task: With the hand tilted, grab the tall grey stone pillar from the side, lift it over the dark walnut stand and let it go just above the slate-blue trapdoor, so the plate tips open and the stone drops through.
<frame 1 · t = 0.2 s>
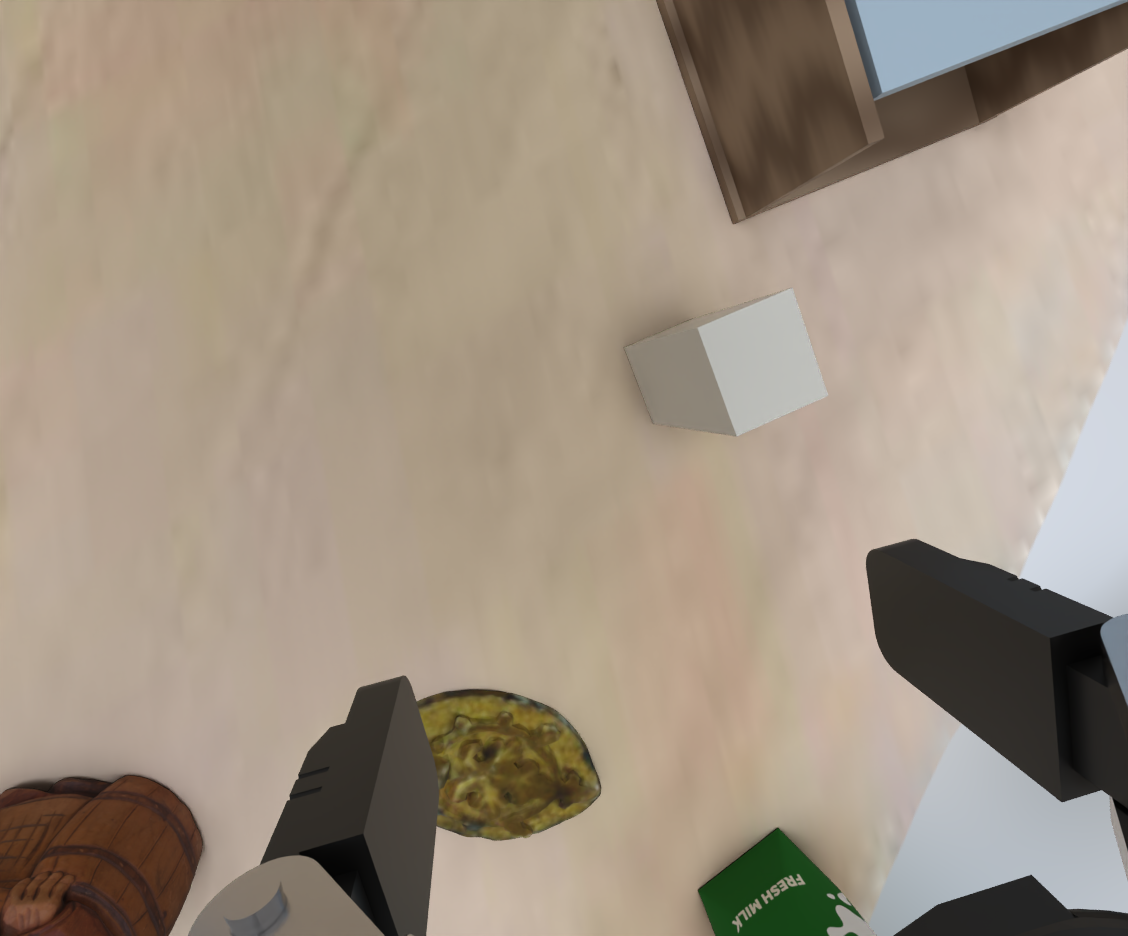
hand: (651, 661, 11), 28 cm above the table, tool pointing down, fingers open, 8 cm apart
wooden figurine: (102, 823, 37), on the table
trapdoor stand: (817, 19, 39), on the table
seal: (487, 757, 41), on the table
milk carton: (762, 892, 45), on the table
grey stone pillar: (672, 371, 40), on the table
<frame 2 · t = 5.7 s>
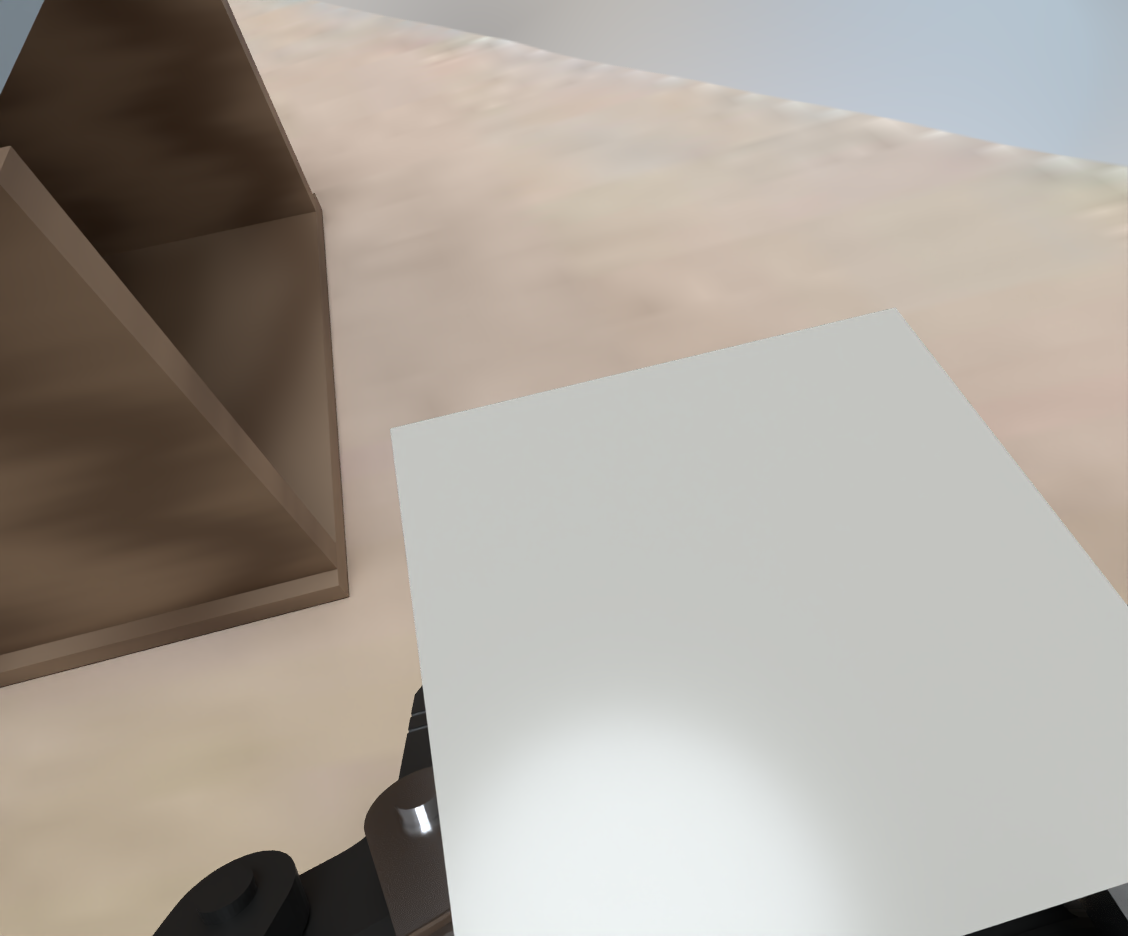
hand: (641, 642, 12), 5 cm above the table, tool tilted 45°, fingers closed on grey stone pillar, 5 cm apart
trapdoor stand: (67, 422, 22), on the table
grey stone pillar: (660, 789, 15), on the table, touching gripper
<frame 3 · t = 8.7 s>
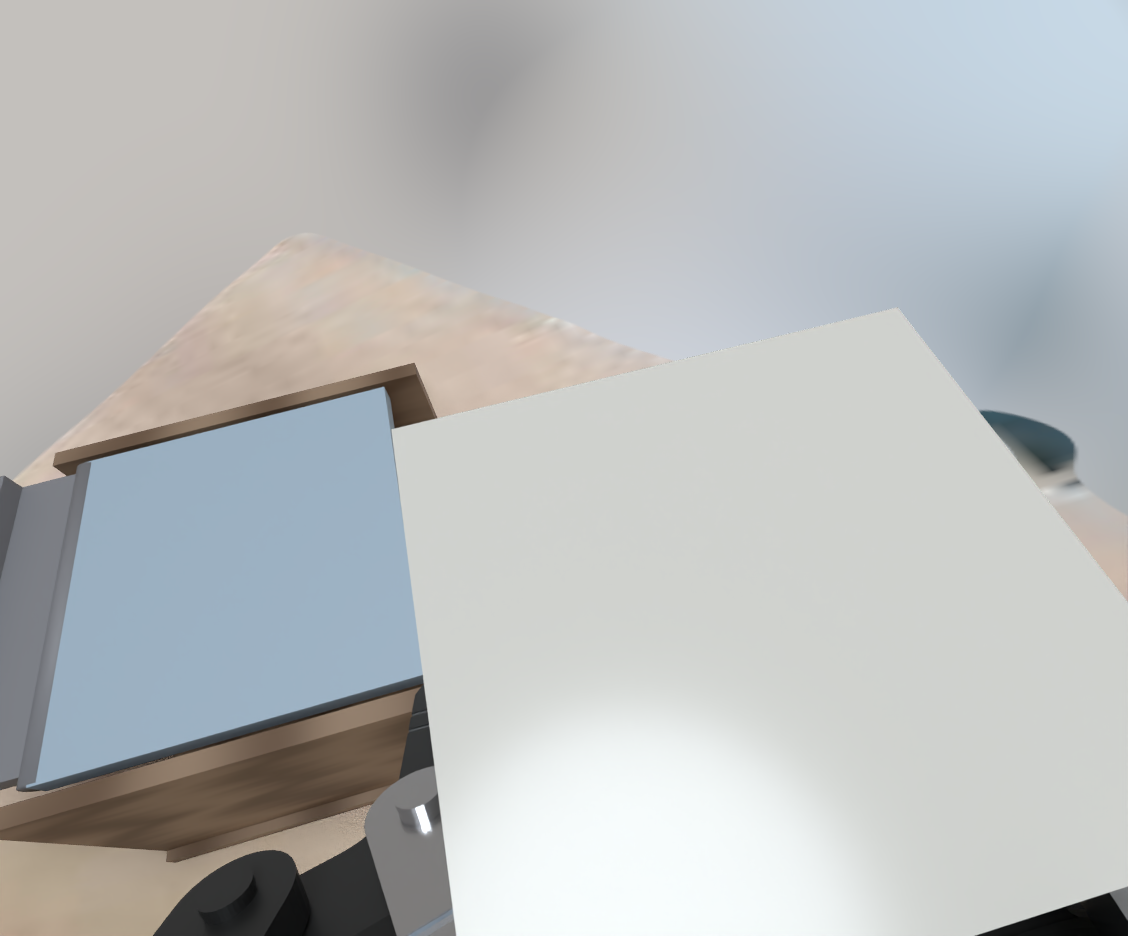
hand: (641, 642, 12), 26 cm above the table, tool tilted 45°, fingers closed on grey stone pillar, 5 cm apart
trapdoor stand: (340, 643, 39), on the table
grey stone pillar: (661, 789, 15), point 21 cm above the table, touching gripper
trapdoor: (160, 581, 29), point 12 cm above the table, hinge at 0.0°
when the fingers open (21 cm above the table, at t = 11.9 s): grey stone pillar drops 4 cm, point 11 cm above the table.
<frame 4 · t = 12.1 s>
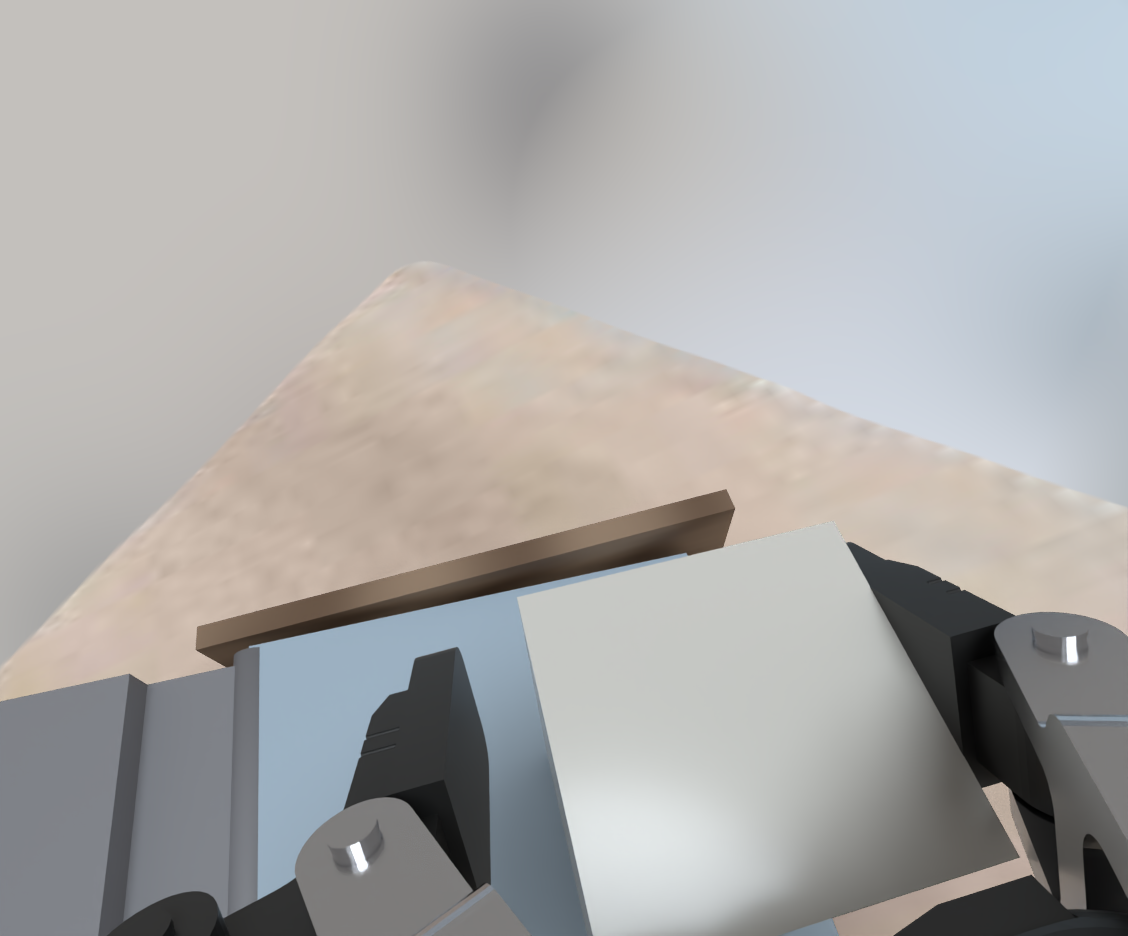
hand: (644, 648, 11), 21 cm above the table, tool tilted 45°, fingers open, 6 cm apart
trapdoor stand: (559, 858, 28), on the table
grey stone pillar: (651, 814, 18), point 11 cm above the table, touching gripper
trapdoor: (403, 879, 18), point 12 cm above the table, hinge at -7.0°
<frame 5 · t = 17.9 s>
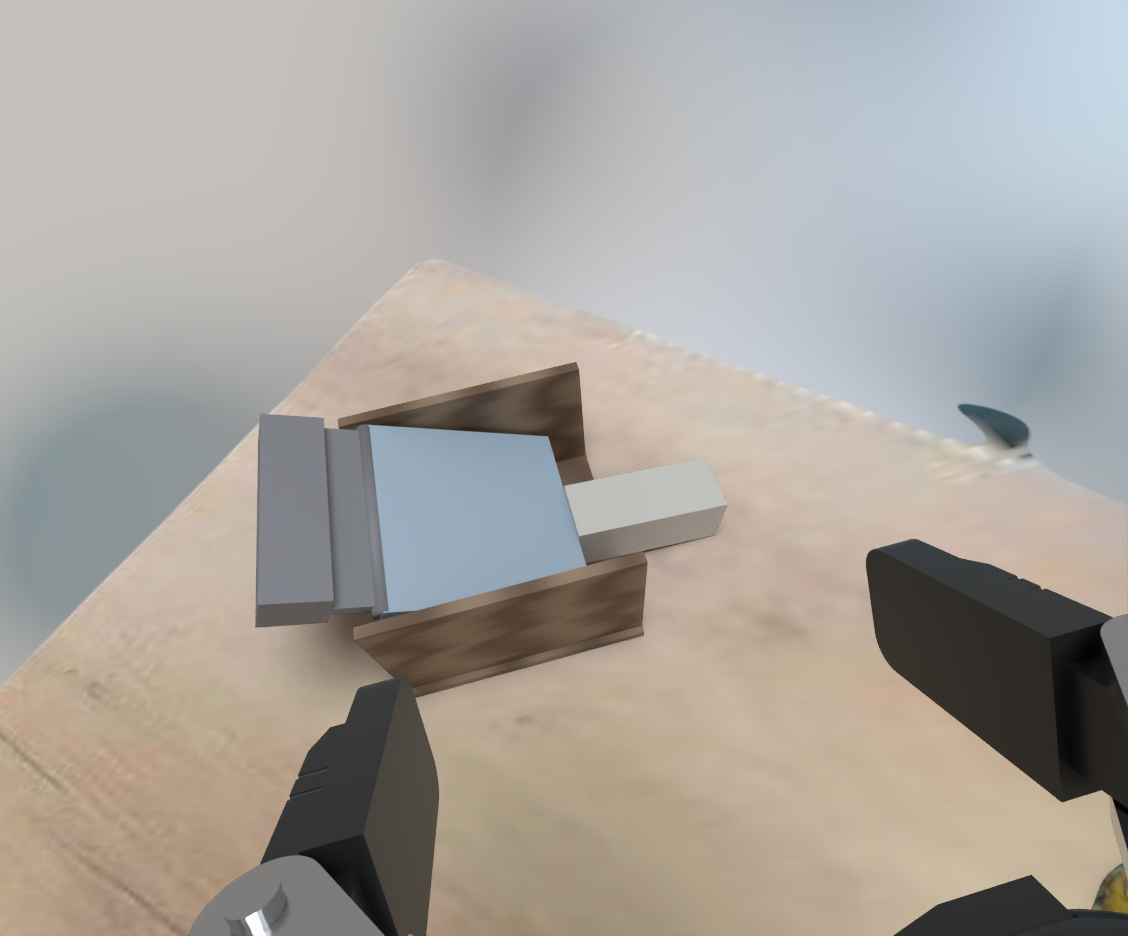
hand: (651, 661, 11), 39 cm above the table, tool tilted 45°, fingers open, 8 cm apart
trapdoor stand: (505, 560, 55), on the table
grey stone pillar: (570, 526, 52), point 4 cm above the table, tilted 96°, touching trapdoor, trapdoor stand
trapdoor: (429, 514, 46), point 10 cm above the table, hinge at -27.5°, touching grey stone pillar
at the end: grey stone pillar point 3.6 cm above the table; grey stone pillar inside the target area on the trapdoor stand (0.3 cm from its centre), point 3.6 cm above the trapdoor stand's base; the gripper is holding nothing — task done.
